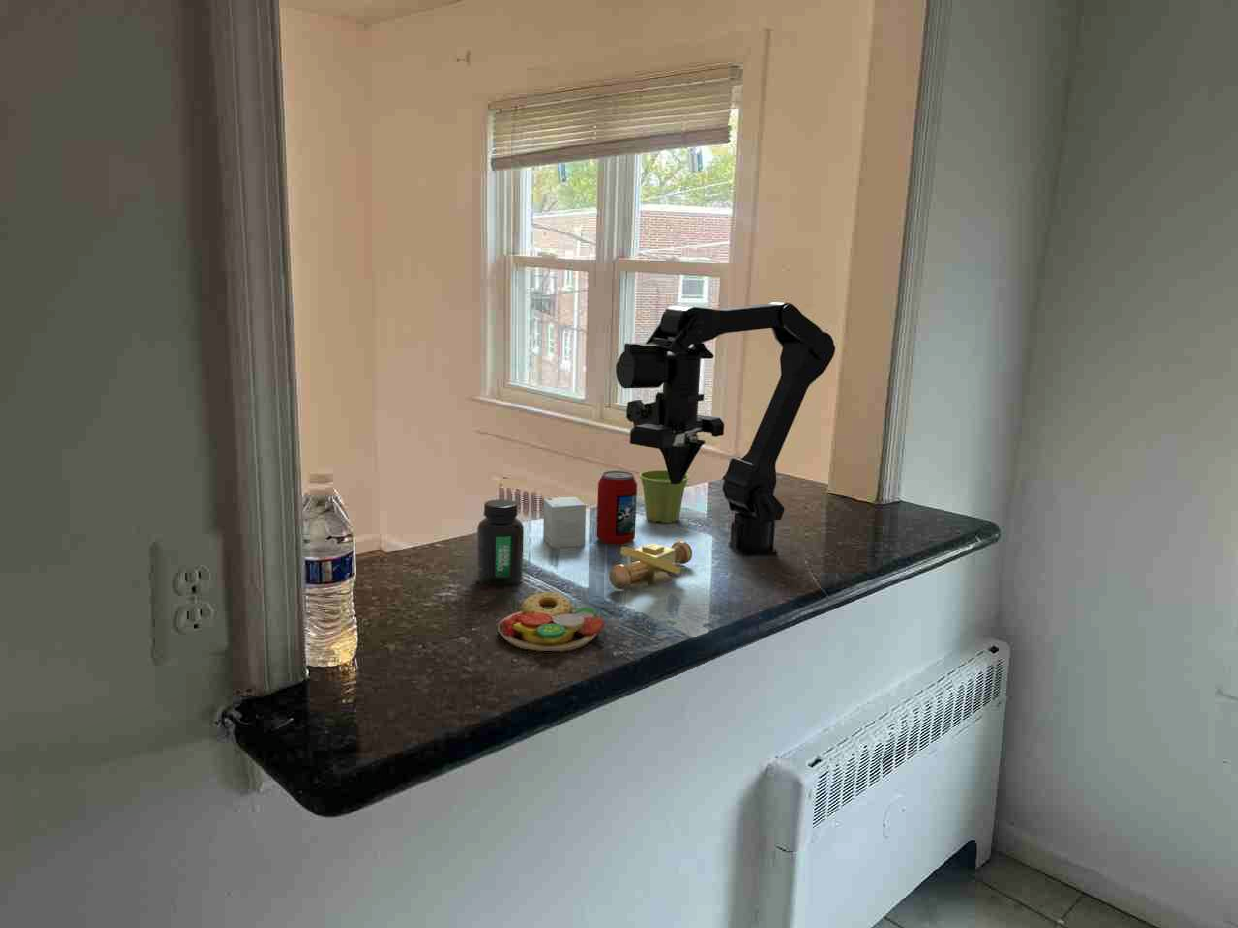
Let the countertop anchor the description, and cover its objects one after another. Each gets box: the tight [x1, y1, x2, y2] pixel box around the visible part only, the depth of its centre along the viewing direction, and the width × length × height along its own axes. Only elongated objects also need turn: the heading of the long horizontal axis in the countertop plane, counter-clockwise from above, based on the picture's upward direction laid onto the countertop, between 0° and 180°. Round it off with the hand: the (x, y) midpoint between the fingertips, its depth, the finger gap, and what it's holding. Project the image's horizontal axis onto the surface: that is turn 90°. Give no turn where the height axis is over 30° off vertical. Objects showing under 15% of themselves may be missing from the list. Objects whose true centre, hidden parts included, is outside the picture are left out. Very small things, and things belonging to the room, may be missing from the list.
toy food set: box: [498, 591, 605, 652], centre depth 116 cm, size 13×13×3 cm
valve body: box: [609, 540, 693, 592], centre depth 138 cm, size 18×5×5 cm, turn 142°
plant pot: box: [639, 469, 690, 524], centre depth 171 cm, size 9×9×9 cm
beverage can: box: [596, 470, 638, 546], centre depth 155 cm, size 7×7×12 cm
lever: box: [619, 546, 683, 579], centre depth 131 cm, size 2×3×14 cm
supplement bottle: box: [476, 498, 525, 588], centre depth 134 cm, size 7×7×12 cm
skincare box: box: [542, 496, 587, 549], centre depth 154 cm, size 6×6×7 cm
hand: (675, 483), depth 144 cm, fingers closed
